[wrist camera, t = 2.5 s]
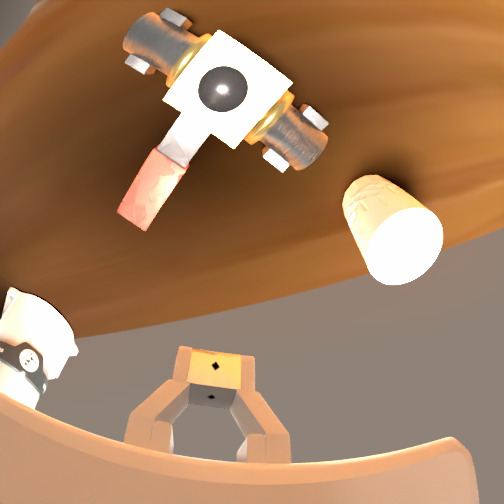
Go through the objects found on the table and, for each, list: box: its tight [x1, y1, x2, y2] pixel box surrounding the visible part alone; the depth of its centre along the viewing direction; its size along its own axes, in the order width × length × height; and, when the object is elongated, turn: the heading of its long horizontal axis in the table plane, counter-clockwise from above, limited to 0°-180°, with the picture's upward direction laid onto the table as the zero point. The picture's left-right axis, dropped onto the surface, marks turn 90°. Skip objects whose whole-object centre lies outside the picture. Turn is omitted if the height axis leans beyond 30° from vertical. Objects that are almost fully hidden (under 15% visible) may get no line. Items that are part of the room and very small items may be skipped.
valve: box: [123, 7, 329, 173], centre depth 21 cm, size 20×7×8 cm, turn 51°
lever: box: [117, 66, 248, 231], centre depth 19 cm, size 14×3×2 cm, turn 141°
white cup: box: [342, 175, 443, 285], centre depth 26 cm, size 8×8×10 cm
